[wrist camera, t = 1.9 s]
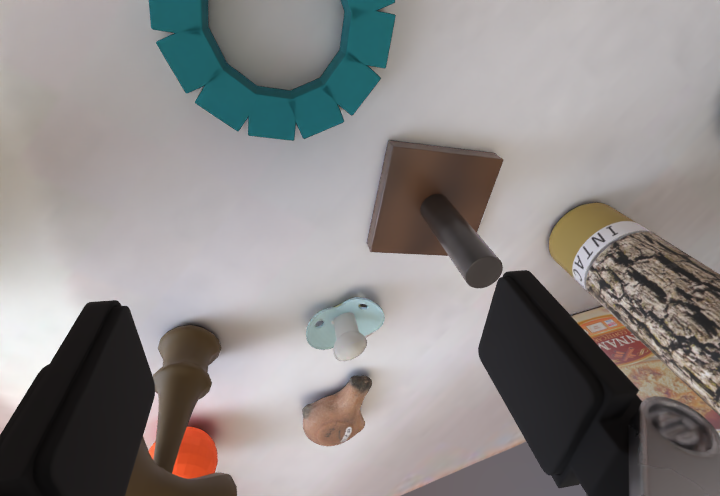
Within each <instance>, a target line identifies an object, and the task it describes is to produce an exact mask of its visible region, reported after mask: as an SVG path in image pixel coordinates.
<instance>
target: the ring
mask: <svg viewBox="0 0 720 496" xmlns="http://www.w3.org/2000/svg"><path fill="white" fill-rule="evenodd" d="M341 3H342V6H343V9H344V20H343V28H342V35H341V43H340V50H339V51H338V53H337V54H336V56H335V57H334V58H333V60H332V61H331V63H330V64H329V66H328V67H327V68H326V70H325V71H324V73H323V74H322V75H321V77H320V78H318V79H316V80H314V81H311V82H309V83H307V84H304V85H302V86H300V87H297V88H295V89H293V90H291V91H290V90H283V89H276V88H269V87H262V86H257V85H255V84H254V83H253V82H251V81H250V80H249V79H247V78H246V77H245V76H243V75H242V74H241V73H239V72H238V71H237V70H235V69H234V68H233V67H231V66H230V65H229V64H227V62H226V60H225V58H224V56H223V54H222V52H221V50H220V48H219V46H218V44H217V43H216V41H215V39H214V37H213V35H212V33H211V31H210V29H209V27H208V0H149V8H150V20H151V28H152V29H153V30H159V31H165V32H171V33H174V34H172V35H170V36H168V37H165V38H163V39H161V40H159V41H157V42H156V44H157V46H158V47H159V49H160V51H161V52H162V54H163V56H164V57H165V59H166V61H167V62H168V64H169V66H170V67H171V69H172V71H173V72H174V74H175V76H176V77H177V79H178V81H179V82H180V84H181V86H182V87H183V89H184V91H185V92H186V93H189V92H192V91H194V90H196V89H198V88H201V87H203V86H204V88H203V89H202V91H201V93H200V94H199V96H198V98H197V99H196V101H195V103H196V104H197V105H199V106H200V107H202V108H203V109H205V110H206V111H208V112H209V113H211V114H212V115H214V116H215V117H217V118H218V119H220V120H221V121H223V122H224V123H226V124H227V125H229V126H230V127H232V128H233V129H235V130H236V131H239V130H240V129H241V127H242V126H243V124H244V123H245V121H246V120H247V118H248V117H249V119H248V135H249V136H257V137H266V138H274V139H283V140H292V141H293V140H294V138H295V126H296V124H297V126H298V128H299V130H300V133H301V135H302V137H303V138H304V139H305V138H308V137H310V136H313V135H315V134H317V133H320V132H322V131H324V130H327V129H329V128H331V127H334V126H336V125H338V124H341V123H343V122H344V119H343V117H342V114H341V111H340V109H339V106H340V107H342V108H343V109H344V110H345V111H347V112H348V113H349V114H350V115H353V114H354V113H355V112H356V110H357V109H358V108H359V106H360V105H361V104H362V103H363V101H364V100H365V99H366V97H367V96H368V95H369V93H370V92H371V91H372V90H373V88H374V87H375V86H376V84H377V83H378V82H379V80H380V79H381V78H380V77H379V76H378V75H377V74H376V73H375V72H374V71H373V70H372V69H371V68H369V67H368V66H374V67H380V68H386V64H387V59H388V53H389V48H390V43H391V37H392V32H393V27H394V22H395V15H394V14H390V13H385V12H380V11H377V10H379V9H381V8H384V7H386V6H388V5H390V4H393V3H395V0H341ZM367 65H368V66H367ZM338 105H339V106H338Z"/></svg>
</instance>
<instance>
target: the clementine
mask: <svg viewBox="0 0 720 496" xmlns="http://www.w3.org/2000/svg"><path fill="white" fill-rule="evenodd" d="M155 443H156V441H155ZM155 443H154V444H153V445H152V447H151V448H150V449H149V453H150V455H151V457H152V459H153V457H154V450H155ZM217 462H218V459H217V449H216V446H215V443H214V441H213V440H212V438H211V437H210V436H209V435H208V434H207V433H206V432H205V431H203V430H201V429H198V428H195V427H187V428H186V430H185V433H184V436H183V439H182V442H181V445H180V448H179V452H178V455H177V458H176V461H175V465H174V468H173V472H172V474H174V475H177V476H179V477H182V478H186V479H192V478H197V477H201V476H205V475H208V474H212V473H215V470H216V466H217Z"/></svg>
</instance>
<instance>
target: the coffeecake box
mask: <svg viewBox="0 0 720 496" xmlns="http://www.w3.org/2000/svg"><path fill="white" fill-rule="evenodd" d="M571 317H572V318H573V319H574V320H575V321H576V322H577V323H578V324H579V325H580V326H581V327H582V328H583V330H584V331H585V332H586V333H587V334H588V335H589V336H590V337H591V338H592V339H593V340H594V342H595V343H596V344H597V345H598V346H599V347H600V348H601V349H602V350H603V351H604V352H605V353H606V355H607V356H608V357H609V358H610V359H611V360H612V361H613V362H614V363H615V364H616V365H617V366H618V368H619V369H620V370H621V371H622V372H623V373H624V374H625V375H626V376H627V377H628V378H629V379H630V381H631V382H632V383H633V384H634V385H635V386H636V387H637V388H638V389H639V392H638V393H637V396H638V397H639V398H640V399H641V400H642V401H644V400H645V399H646V398H649V397H653V396H658V397H666V398H670V399H673V400H677V401H679V402H681V403H683V404H685V405H687V406H689V407H691V408H692V409H694V410H695V411H697V412H698V413H700V414H701V415H702V416H703V417H704V418H705V419H707V420H708V421H709V422H710V423H711V424H712V425H713V427H714V428H715V429H716V431H717V432H718V433H719V435H720V416H719V415H718V414H717V413H716V412H715V411H714V410H713V409H712V408H711V407H710V406H709V405H708V404H707V403H705V402H704V401H703V400H702V399H701V398H700V397H699V396H698V395H697V394H696V393H695V392H694V391H693V390H692V389H691V388H690V387H688V386H687V385H686V384H685V383H684V382H683V381H682V380H681V379H680V378H679V377H678V376H677V375H676V374H675V373H674V372H673V371H671V370H670V369H669V368H668V367H667V366H666V365H665V364H664V363H663V362H662V361H661V360H660V359H659V358H658V357H657V356H656V355H654V354H653V353H652V352H651V351H650V350H649V349H648V348H647V347H646V346H645V345H644V344H643V343H642V342H641V341H640V340H639V339H637V338H636V337H635V336H634V335H633V334H632V333H631V332H630V331H629V330H628V329H627V328H626V327H625V326H624V325H623V324H622V323H620V322H619V321H618V320H617V319H616V318H615V317H614V316H613V315H612V314H611V313H610V312H609V311H608V310H607V309H606V308H605V307H600V308H596V309H593V310H590V311H586V312H583V313H580V314H576V315H573V316H571Z"/></svg>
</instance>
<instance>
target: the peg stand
mask: <svg viewBox="0 0 720 496" xmlns="http://www.w3.org/2000/svg"><path fill="white" fill-rule="evenodd" d="M502 162H503V159H502V158H501V157H499V156H498V155H497V154H495V153H489V152H481V151H473V150H465V149H456V148H448V147H440V146H432V145H423V144H415V143H407V142H399V141H390V140H389V141H388V145H387V149H386V154H385V159H384V164H383V168H382V173H381V178H380V183H379V188H378V192H377V197H376V202H375V207H374V211H373V216H372V221H371V226H370V230H369V235H368V240H367V244H368V247H369V249H370V252H382V253H403V254H423V255H444V256H449V257H450V258H451V260H452V261H453V263H454V264H455V266H456V267H457V269H458V270H459V272H460V273H461V275H462V276H463V278H464V279H465V281H466V282H467V283H468V285H470V286H471V287H474V288H484V287H487V286H489V285H491V284H493V283H494V282H495V281H496V280H497V279H498V278H499V277H500V275H501V273H502V268H503V267H502V263H501V261H500V260H499V258H498V257H497V256H496V255H495V254H494V253H493V251H492V250H491V249H490V248H489V247H488V246H487V244H486V243H485V242H484V241H483V240H482V239H481V237H480V236H479V235H478V234H477V230H478V228H479V225H480V222H481V219H482V217H483V214H484V211H485V209H486V206H487V203H488V200H489V198H490V195H491V192H492V190H493V187H494V184H495V181H496V179H497V176H498V173H499V170H500V168H501V165H502Z"/></svg>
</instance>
